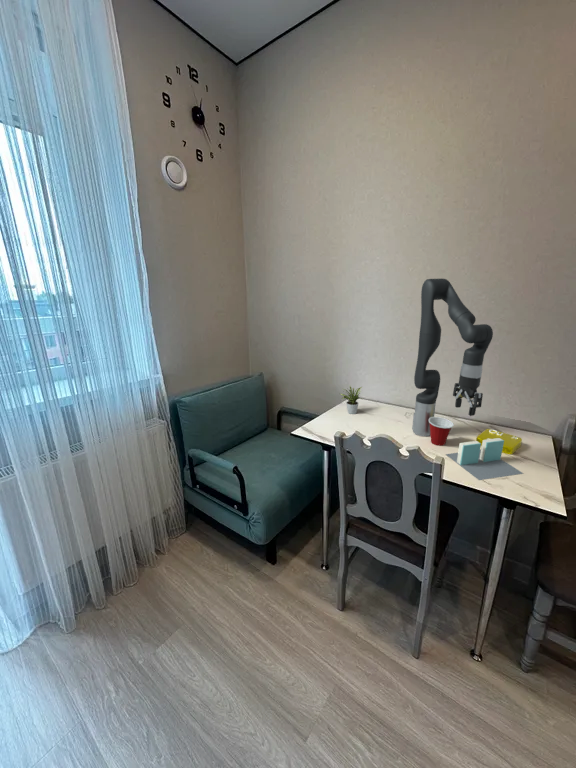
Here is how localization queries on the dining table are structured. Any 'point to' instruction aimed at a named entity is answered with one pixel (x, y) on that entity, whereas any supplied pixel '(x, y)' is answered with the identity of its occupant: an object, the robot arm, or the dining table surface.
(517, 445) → the element tile
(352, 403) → the house plant
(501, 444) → the tile
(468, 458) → the tile
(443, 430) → the plastic cup
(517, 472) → the mat
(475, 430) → the dining table surface
